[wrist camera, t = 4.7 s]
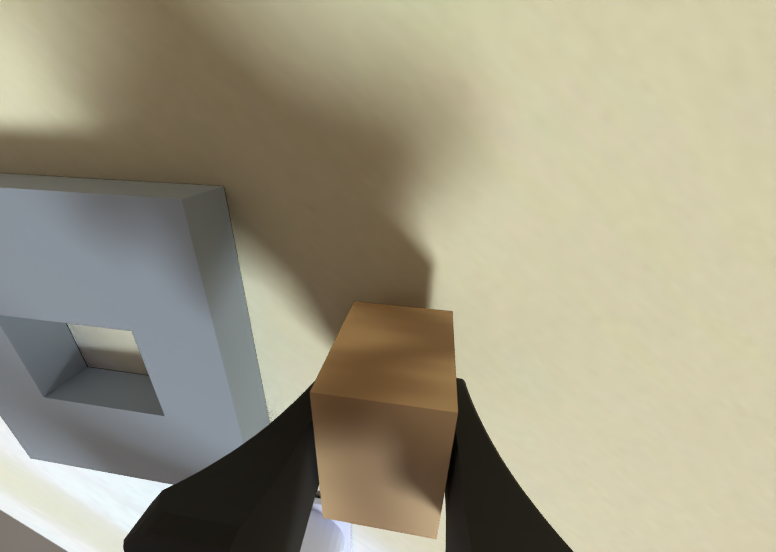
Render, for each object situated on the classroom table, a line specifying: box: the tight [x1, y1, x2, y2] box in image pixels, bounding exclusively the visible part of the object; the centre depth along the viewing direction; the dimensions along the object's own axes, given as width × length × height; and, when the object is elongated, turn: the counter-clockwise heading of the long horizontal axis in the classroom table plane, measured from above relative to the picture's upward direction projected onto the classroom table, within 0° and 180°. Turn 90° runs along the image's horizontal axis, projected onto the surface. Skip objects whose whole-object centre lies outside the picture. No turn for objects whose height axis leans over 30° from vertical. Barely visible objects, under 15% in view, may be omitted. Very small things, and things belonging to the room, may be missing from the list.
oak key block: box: [310, 301, 458, 539], centre depth 12 cm, size 4×6×5 cm, turn 178°
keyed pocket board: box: [0, 173, 270, 485], centre depth 18 cm, size 18×16×2 cm
